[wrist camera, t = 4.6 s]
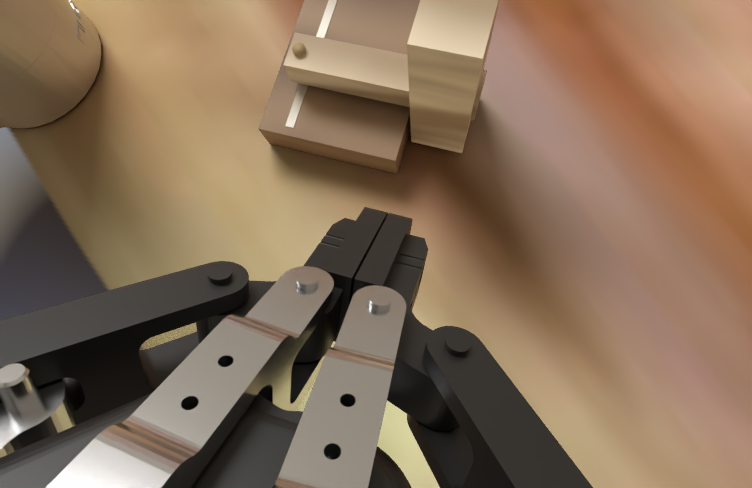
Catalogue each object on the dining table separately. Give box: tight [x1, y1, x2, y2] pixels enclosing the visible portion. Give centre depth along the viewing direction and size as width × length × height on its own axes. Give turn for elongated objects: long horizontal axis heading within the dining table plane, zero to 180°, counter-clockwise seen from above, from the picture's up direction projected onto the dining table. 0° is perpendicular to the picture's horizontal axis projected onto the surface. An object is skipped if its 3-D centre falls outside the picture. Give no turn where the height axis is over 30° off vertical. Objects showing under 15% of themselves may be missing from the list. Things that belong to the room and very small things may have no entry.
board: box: [259, 0, 420, 174], centre depth 28 cm, size 20×8×2 cm, turn 164°
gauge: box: [283, 0, 500, 153], centre depth 23 cm, size 4×10×9 cm, turn 74°
